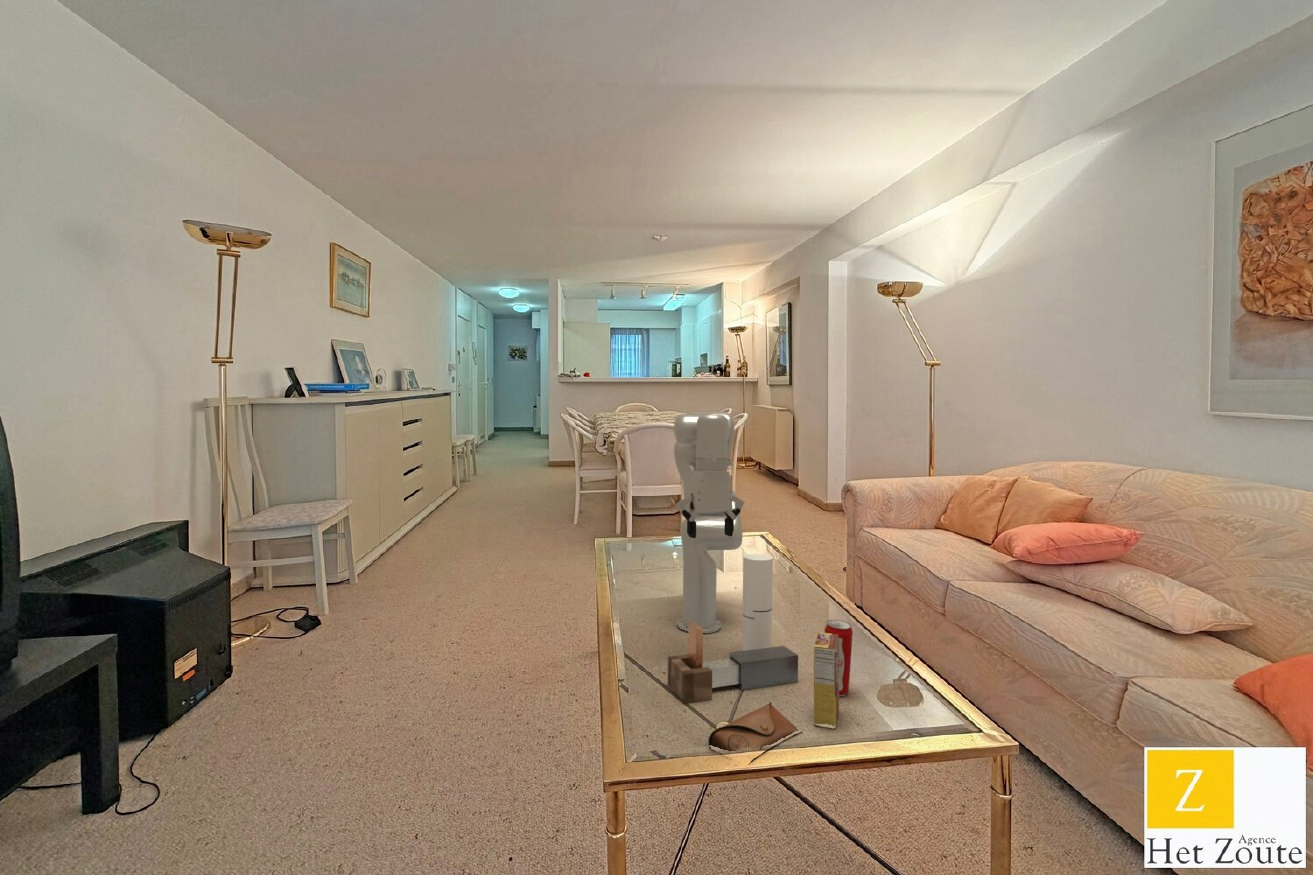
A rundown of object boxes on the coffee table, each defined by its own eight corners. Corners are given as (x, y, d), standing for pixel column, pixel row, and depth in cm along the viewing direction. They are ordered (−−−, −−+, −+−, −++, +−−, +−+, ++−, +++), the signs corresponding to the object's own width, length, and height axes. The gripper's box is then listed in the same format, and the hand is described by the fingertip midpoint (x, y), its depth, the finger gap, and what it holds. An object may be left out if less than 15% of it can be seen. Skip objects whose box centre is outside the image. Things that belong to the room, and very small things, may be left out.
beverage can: (829, 683, 130) (830, 616, 130) (857, 692, 125) (858, 623, 125) (815, 691, 126) (816, 621, 126) (843, 701, 121) (844, 629, 121)
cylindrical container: (771, 665, 140) (772, 560, 140) (741, 662, 141) (742, 559, 141) (771, 654, 147) (772, 555, 147) (742, 651, 148) (744, 553, 148)
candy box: (817, 705, 119) (818, 631, 119) (839, 709, 118) (840, 634, 118) (811, 725, 111) (813, 645, 111) (835, 730, 109) (836, 648, 109)
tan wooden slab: (687, 682, 127) (688, 622, 127) (745, 674, 132) (746, 616, 132) (695, 690, 123) (696, 628, 123) (754, 681, 128) (754, 622, 128)
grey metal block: (729, 679, 132) (729, 652, 132) (783, 671, 136) (783, 645, 136) (741, 690, 126) (742, 662, 126) (797, 681, 131) (798, 655, 131)
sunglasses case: (746, 767, 96) (730, 725, 99) (718, 774, 101) (703, 733, 103) (805, 730, 109) (790, 694, 111) (777, 737, 113) (763, 702, 116)
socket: (667, 683, 129) (668, 656, 129) (692, 680, 131) (693, 653, 131) (685, 703, 119) (685, 674, 119) (711, 699, 121) (712, 670, 121)
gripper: (736, 464, 148) (735, 532, 148) (672, 465, 142) (671, 535, 142) (750, 466, 141) (749, 537, 141) (684, 466, 135) (683, 540, 135)
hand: (710, 536), depth 142 cm, fingers open, 9 cm apart
